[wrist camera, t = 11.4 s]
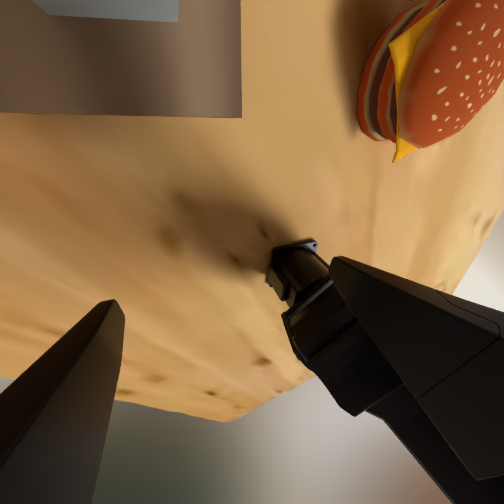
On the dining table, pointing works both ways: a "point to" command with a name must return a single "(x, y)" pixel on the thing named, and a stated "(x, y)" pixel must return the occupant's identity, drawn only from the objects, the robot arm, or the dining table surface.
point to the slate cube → (114, 9)
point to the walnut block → (122, 62)
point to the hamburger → (432, 72)
